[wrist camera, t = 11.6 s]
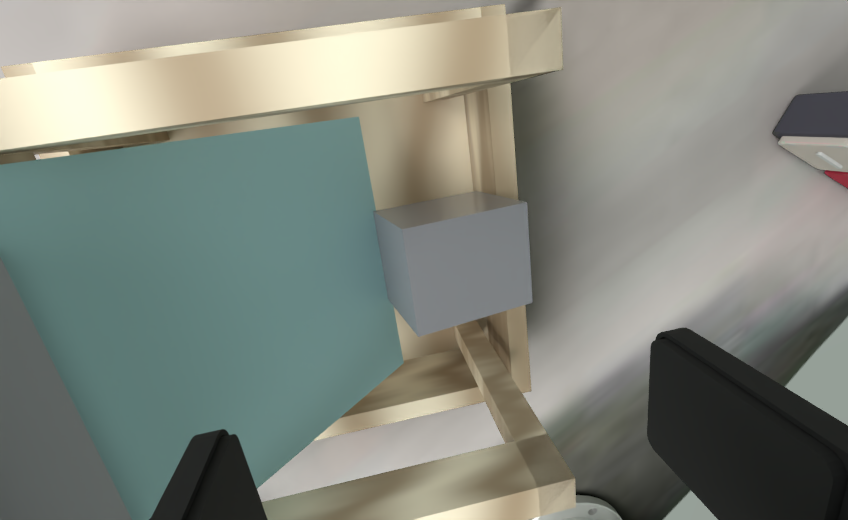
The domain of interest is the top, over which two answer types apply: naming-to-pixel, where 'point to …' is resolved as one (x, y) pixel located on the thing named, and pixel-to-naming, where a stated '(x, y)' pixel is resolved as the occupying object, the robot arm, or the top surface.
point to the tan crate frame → (392, 186)
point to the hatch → (182, 311)
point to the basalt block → (455, 258)
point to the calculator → (818, 132)
